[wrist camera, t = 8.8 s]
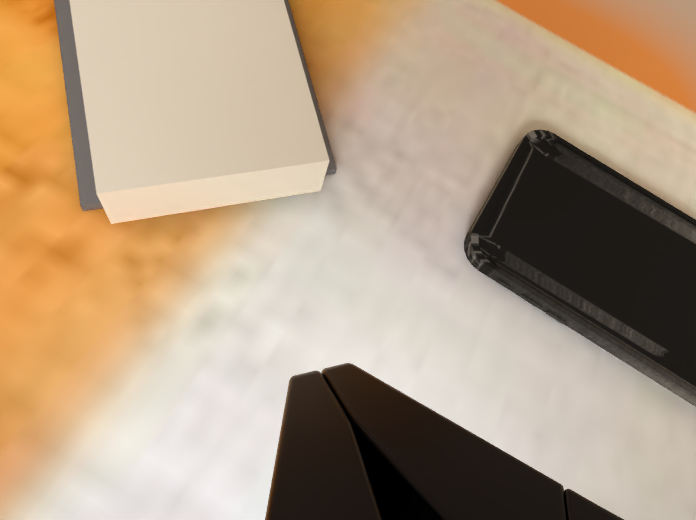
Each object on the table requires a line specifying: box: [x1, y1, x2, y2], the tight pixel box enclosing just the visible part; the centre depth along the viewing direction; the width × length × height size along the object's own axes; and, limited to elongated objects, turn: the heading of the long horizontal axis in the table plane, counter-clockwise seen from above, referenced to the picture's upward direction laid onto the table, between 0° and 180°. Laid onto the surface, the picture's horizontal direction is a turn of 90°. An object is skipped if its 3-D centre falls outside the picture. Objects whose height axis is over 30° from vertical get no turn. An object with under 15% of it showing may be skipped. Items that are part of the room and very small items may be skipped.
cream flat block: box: [69, 0, 329, 224], centre depth 23 cm, size 3×8×10 cm
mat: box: [54, 0, 336, 211], centre depth 25 cm, size 11×10×1 cm
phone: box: [464, 130, 696, 406], centre depth 25 cm, size 8×1×15 cm
